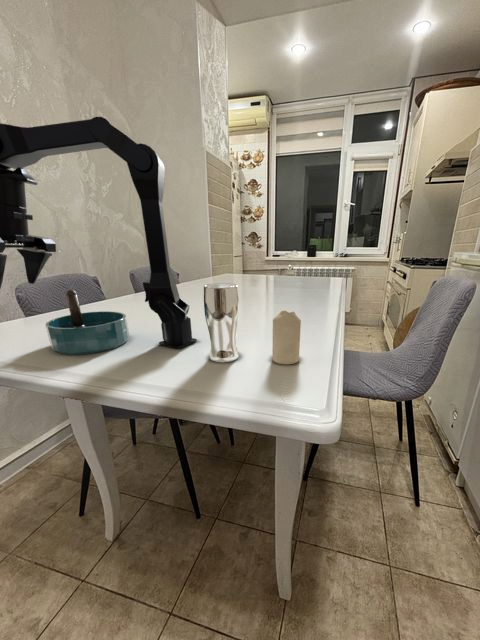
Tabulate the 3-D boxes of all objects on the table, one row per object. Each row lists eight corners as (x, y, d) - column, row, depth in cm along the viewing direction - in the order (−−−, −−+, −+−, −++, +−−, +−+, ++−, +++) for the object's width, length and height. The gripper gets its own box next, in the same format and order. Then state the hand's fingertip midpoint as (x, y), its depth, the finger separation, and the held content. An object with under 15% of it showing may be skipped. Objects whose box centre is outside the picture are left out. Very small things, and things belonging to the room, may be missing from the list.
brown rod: (92, 336, 72) (81, 289, 68) (78, 339, 69) (66, 291, 65) (83, 334, 74) (73, 288, 70) (70, 337, 71) (58, 290, 67)
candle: (268, 356, 61) (268, 310, 58) (290, 353, 63) (292, 308, 60) (279, 366, 57) (280, 316, 53) (303, 362, 59) (306, 313, 55)
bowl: (143, 339, 73) (140, 315, 71) (79, 360, 60) (72, 332, 57) (103, 330, 80) (99, 308, 78) (37, 347, 67) (30, 322, 65)
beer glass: (235, 364, 58) (232, 288, 52) (202, 361, 59) (196, 287, 54) (244, 352, 64) (242, 283, 59) (214, 350, 65) (210, 282, 60)
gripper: (3, 203, 64) (10, 275, 69) (-93, 186, 47) (-74, 284, 52) (55, 213, 65) (59, 283, 70) (-19, 200, 47) (-8, 295, 52)
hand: (15, 285), depth 61 cm, fingers open, 9 cm apart
